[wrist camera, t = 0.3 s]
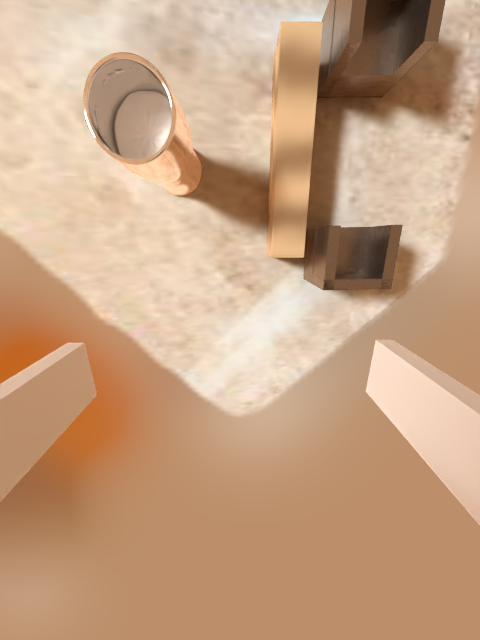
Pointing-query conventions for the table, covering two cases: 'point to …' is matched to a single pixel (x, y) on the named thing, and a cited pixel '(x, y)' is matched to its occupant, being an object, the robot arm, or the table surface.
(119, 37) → the table surface
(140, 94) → the shiny metal tumbler
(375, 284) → the brackets
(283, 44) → the rail
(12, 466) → the robot arm
